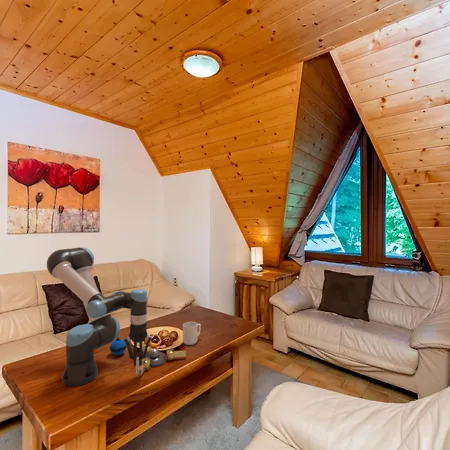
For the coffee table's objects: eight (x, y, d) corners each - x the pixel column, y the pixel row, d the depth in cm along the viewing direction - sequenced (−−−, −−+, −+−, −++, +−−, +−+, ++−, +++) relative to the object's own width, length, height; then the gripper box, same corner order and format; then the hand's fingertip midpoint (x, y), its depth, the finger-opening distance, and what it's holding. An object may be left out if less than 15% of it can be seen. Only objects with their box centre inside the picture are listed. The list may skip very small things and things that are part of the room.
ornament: (109, 352, 160) (109, 335, 159) (125, 349, 163) (125, 332, 163) (109, 359, 152) (109, 341, 151) (126, 356, 155) (126, 338, 155)
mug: (188, 347, 167) (188, 328, 167) (180, 342, 173) (180, 324, 173) (204, 341, 175) (204, 323, 174) (196, 336, 181) (196, 319, 181)
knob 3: (166, 360, 149) (166, 352, 149) (166, 356, 153) (166, 349, 153) (186, 358, 151) (186, 350, 151) (185, 354, 156) (185, 347, 155)
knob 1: (152, 353, 156) (152, 346, 156) (145, 356, 153) (145, 349, 153) (144, 347, 164) (144, 340, 163) (136, 350, 161) (136, 343, 160)
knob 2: (142, 365, 144) (142, 357, 144) (151, 365, 144) (151, 357, 144) (135, 376, 134) (135, 368, 134) (144, 376, 134) (144, 368, 134)
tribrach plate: (142, 368, 143) (142, 356, 143) (143, 357, 154) (143, 346, 154) (165, 365, 145) (165, 353, 145) (165, 355, 157) (165, 344, 157)
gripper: (123, 326, 130) (122, 377, 130) (151, 324, 133) (151, 375, 132) (125, 320, 138) (124, 369, 137) (152, 319, 140) (151, 367, 140)
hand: (137, 372), depth 135 cm, fingers closed
